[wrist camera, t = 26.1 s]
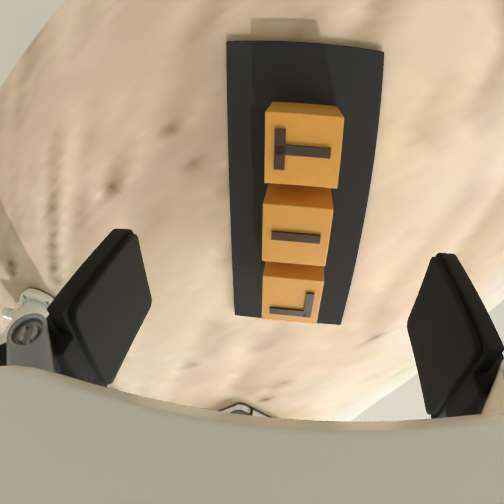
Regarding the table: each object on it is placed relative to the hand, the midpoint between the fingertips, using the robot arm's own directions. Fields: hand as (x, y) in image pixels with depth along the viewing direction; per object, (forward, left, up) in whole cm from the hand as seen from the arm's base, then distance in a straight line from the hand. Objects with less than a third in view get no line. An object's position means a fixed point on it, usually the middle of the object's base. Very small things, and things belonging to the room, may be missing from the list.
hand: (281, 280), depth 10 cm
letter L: (0, -13, -18) cm, 22 cm away
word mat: (0, -6, -18) cm, 19 cm away
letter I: (0, -6, -18) cm, 19 cm away
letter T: (0, 0, -18) cm, 18 cm away
